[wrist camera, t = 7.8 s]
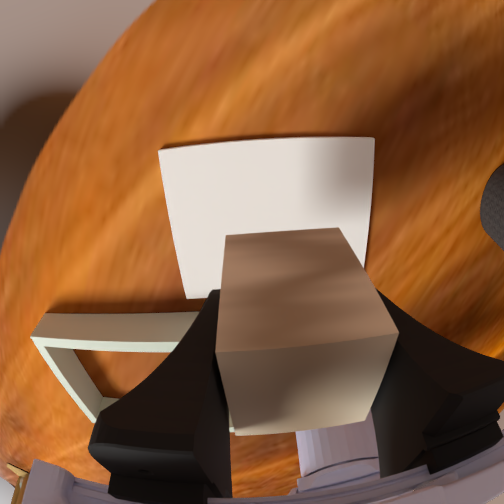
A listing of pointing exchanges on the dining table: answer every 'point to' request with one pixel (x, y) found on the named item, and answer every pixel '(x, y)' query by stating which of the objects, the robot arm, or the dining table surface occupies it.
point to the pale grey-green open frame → (103, 346)
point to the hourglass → (19, 485)
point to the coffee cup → (494, 207)
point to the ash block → (299, 332)
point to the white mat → (263, 195)
